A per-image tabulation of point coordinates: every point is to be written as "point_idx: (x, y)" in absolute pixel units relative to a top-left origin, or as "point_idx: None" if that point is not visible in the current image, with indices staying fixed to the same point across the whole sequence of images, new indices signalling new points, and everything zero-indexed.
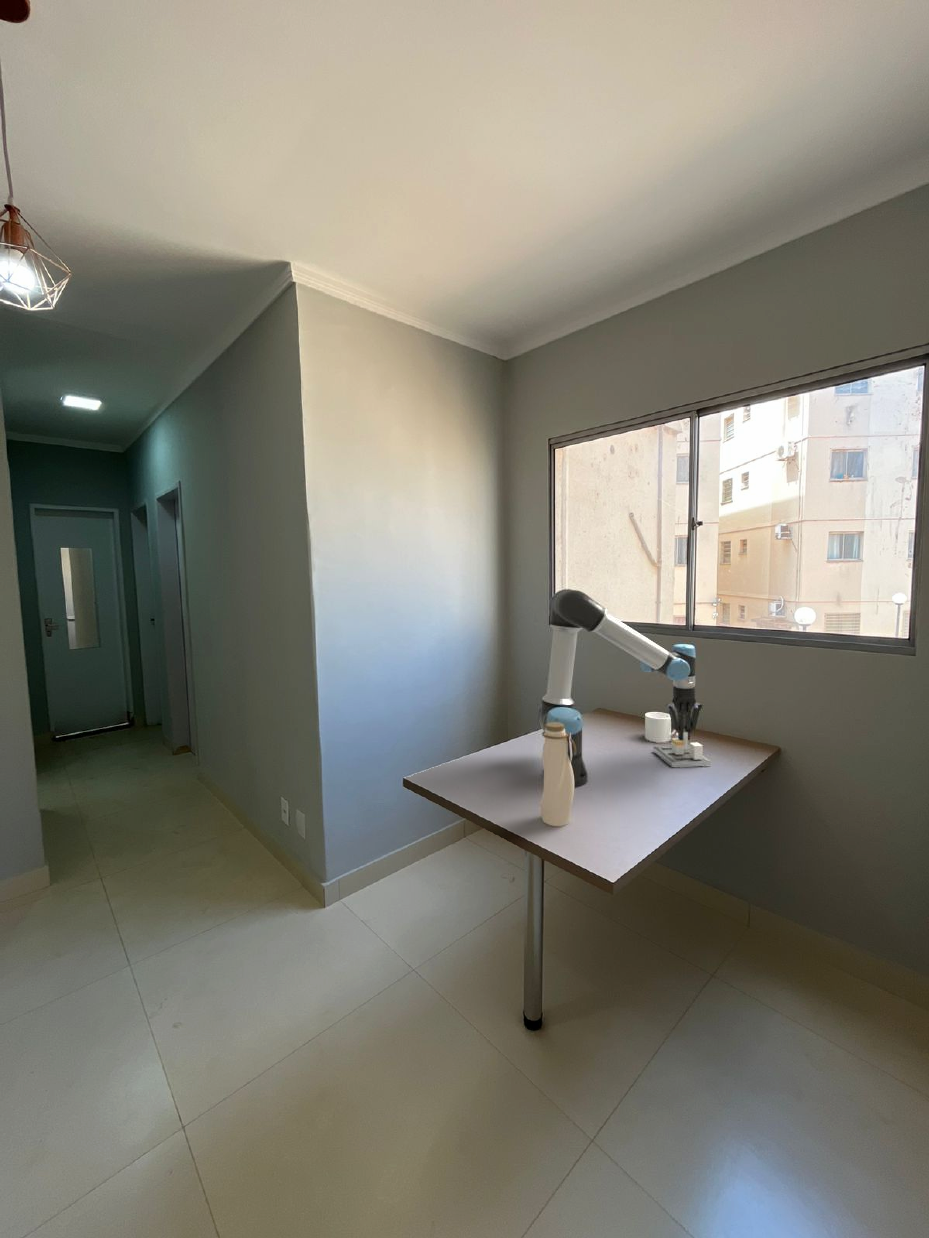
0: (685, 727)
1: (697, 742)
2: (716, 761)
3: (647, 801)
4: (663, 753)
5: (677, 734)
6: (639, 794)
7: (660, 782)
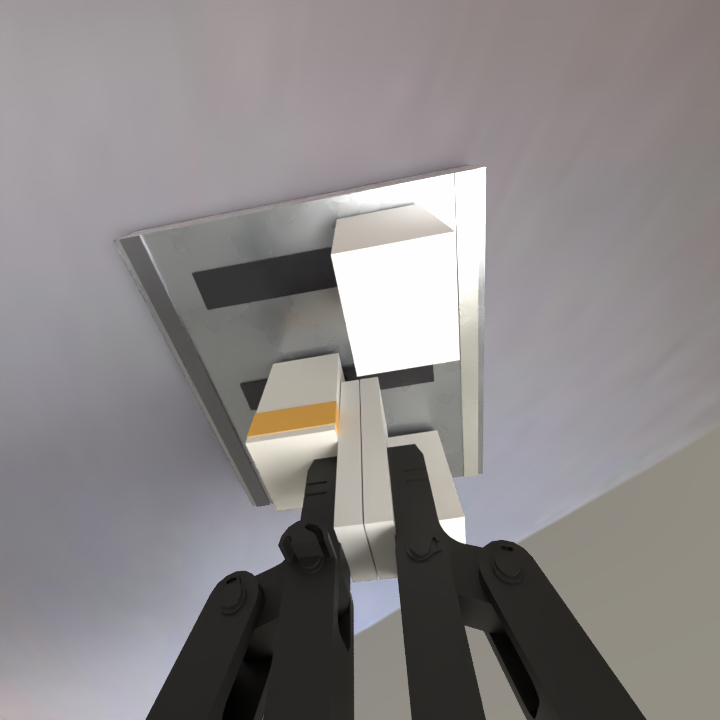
0: (409, 582)
1: (461, 518)
2: (552, 385)
3: (157, 659)
4: (208, 395)
5: (344, 312)
6: (129, 639)
7: (196, 585)
